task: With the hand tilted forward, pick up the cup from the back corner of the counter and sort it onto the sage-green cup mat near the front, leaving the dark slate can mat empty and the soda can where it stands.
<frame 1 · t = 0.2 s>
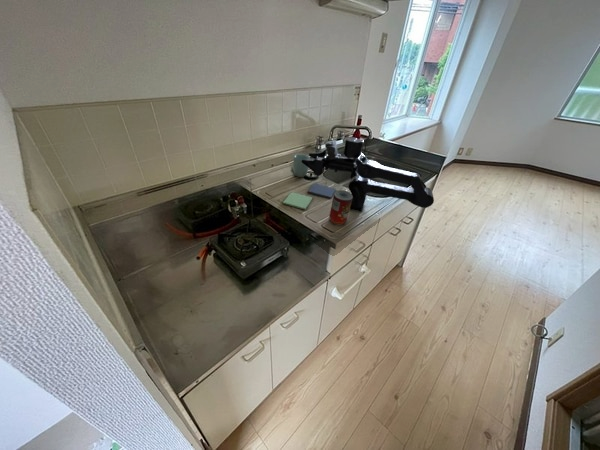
hand: (305, 157, 100), 17 cm above the countertop, tool horizontal, fingers open, 9 cm apart
cup: (299, 175, 125), on the countertop
cup mat: (297, 201, 104), on the countertop
can mat: (321, 191, 113), on the countertop
soda can: (337, 220, 95), on the countertop
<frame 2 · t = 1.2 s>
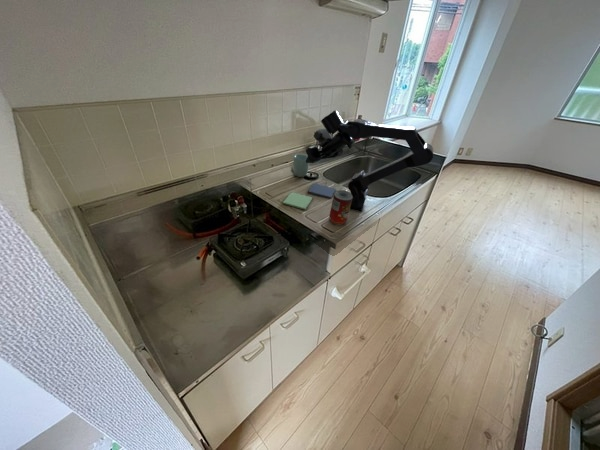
hand: (313, 160, 107), 14 cm above the countertop, tool tilted 45°, fingers open, 9 cm apart
nothing on the countertop moved.
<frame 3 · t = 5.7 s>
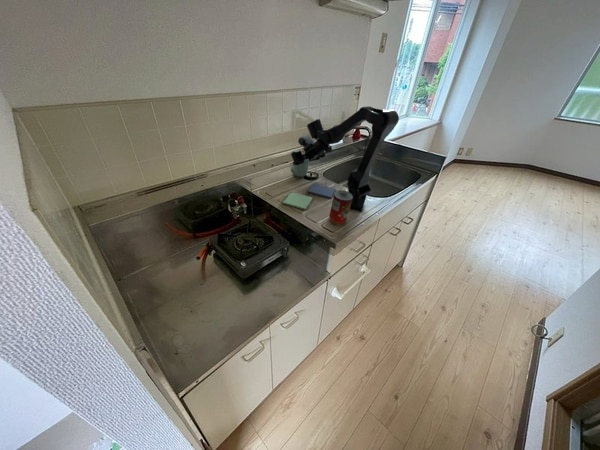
hand: (299, 162, 121), 7 cm above the countertop, tool tilted 45°, fingers closed on cup, 8 cm apart
cup: (299, 175, 125), on the countertop, touching gripper
everything else where it was.
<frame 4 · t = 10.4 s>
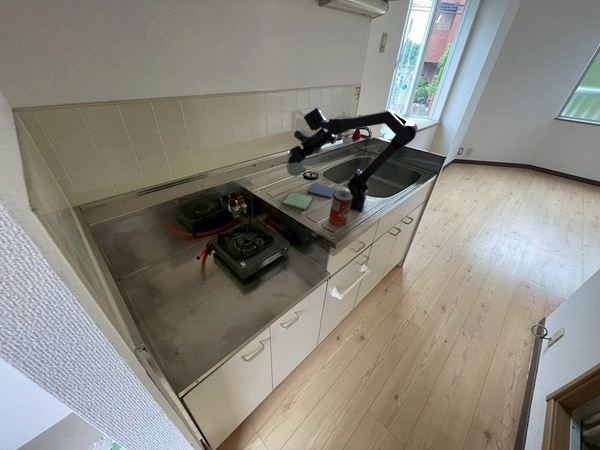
hand: (293, 159, 107), 13 cm above the countertop, tool tilted 45°, fingers closed on cup, 8 cm apart
cup: (294, 174, 111), point 6 cm above the countertop, touching gripper
everything else where it was.
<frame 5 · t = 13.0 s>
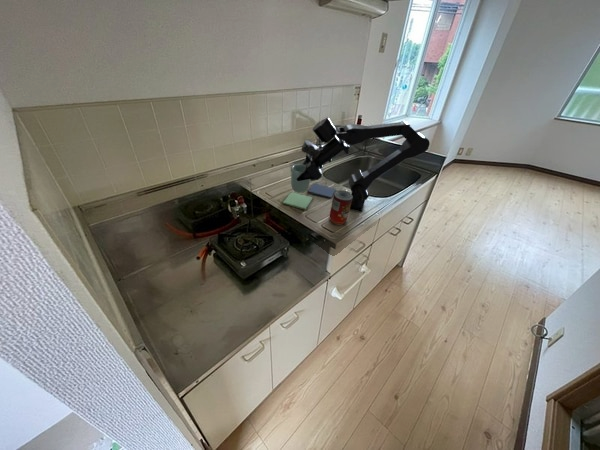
hand: (297, 175, 96), 12 cm above the countertop, tool tilted 45°, fingers closed on cup, 8 cm apart
cup: (299, 190, 100), point 5 cm above the countertop, touching gripper
everything else where it was.
when the fingers open (7 cm above the countertop, at t = 15.3 s): cup stays where it is, point 1 cm above the countertop.
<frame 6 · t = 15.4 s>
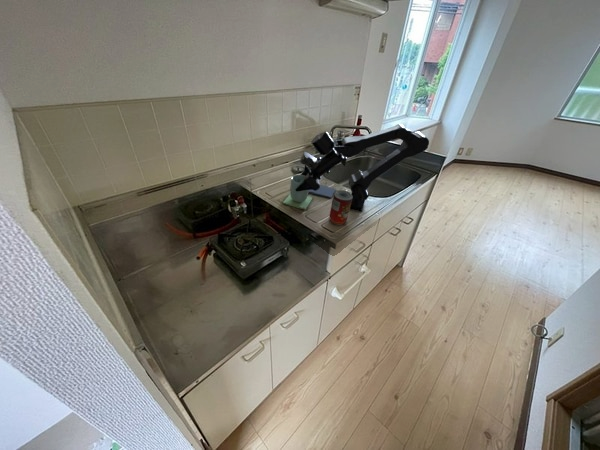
hand: (296, 185, 99), 7 cm above the countertop, tool tilted 45°, fingers open, 8 cm apart
cup: (298, 200, 103), point 1 cm above the countertop
everything else where it was.
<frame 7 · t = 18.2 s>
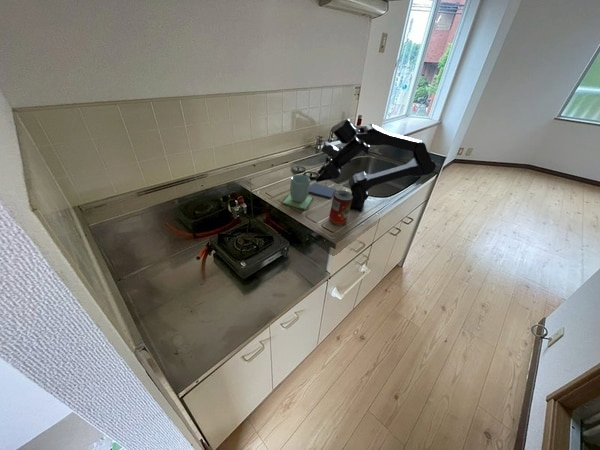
hand: (317, 177, 97), 12 cm above the countertop, tool tilted 40°, fingers open, 9 cm apart
cup: (298, 200, 103), point 1 cm above the countertop, touching cup mat
everything else where it was.
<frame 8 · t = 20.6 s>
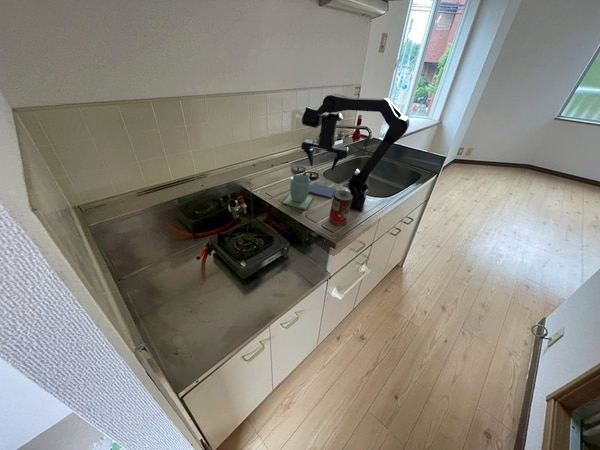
hand: (321, 168, 102), 13 cm above the countertop, tool pointing down, fingers open, 9 cm apart
nothing on the countertop moved.
at the end: cup inside the target area on the cup mat (0.2 cm from its centre), point 0.6 cm above the cup mat's base; cup tilted 0°; the gripper is holding nothing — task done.
